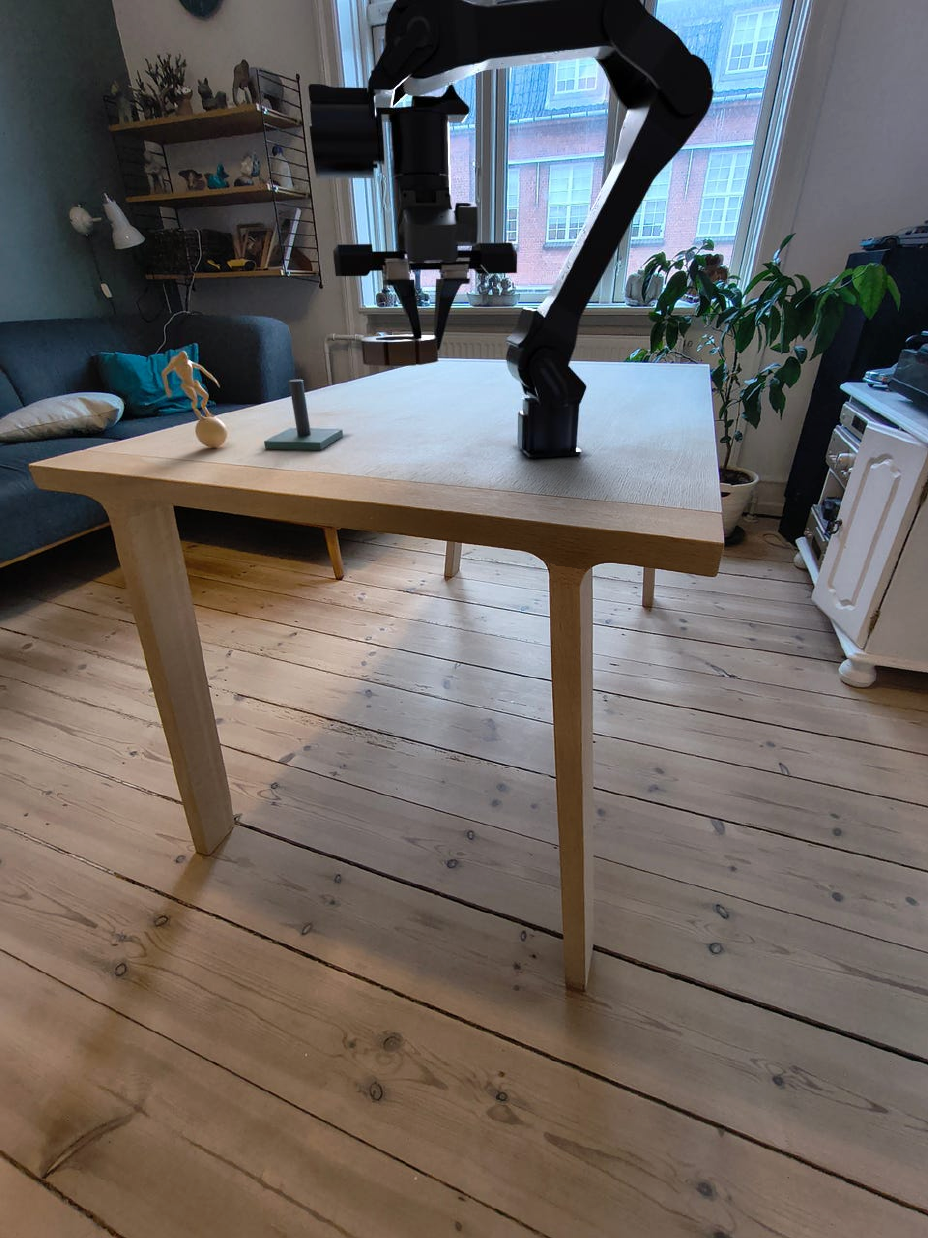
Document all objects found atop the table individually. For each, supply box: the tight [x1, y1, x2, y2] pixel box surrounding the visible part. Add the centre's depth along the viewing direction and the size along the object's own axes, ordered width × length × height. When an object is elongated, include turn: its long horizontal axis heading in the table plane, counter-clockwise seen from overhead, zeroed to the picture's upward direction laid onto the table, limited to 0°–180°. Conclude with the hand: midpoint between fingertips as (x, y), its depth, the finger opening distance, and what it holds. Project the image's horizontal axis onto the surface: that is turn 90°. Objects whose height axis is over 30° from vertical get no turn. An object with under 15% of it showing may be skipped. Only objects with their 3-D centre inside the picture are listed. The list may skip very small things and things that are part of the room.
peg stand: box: [263, 379, 344, 451], centre depth 80 cm, size 8×8×8 cm
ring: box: [360, 334, 439, 368], centre depth 66 cm, size 8×8×2 cm
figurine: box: [161, 350, 228, 448], centre depth 78 cm, size 8×6×12 cm
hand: (428, 350), depth 66 cm, fingers closed on ring, 1 cm apart
